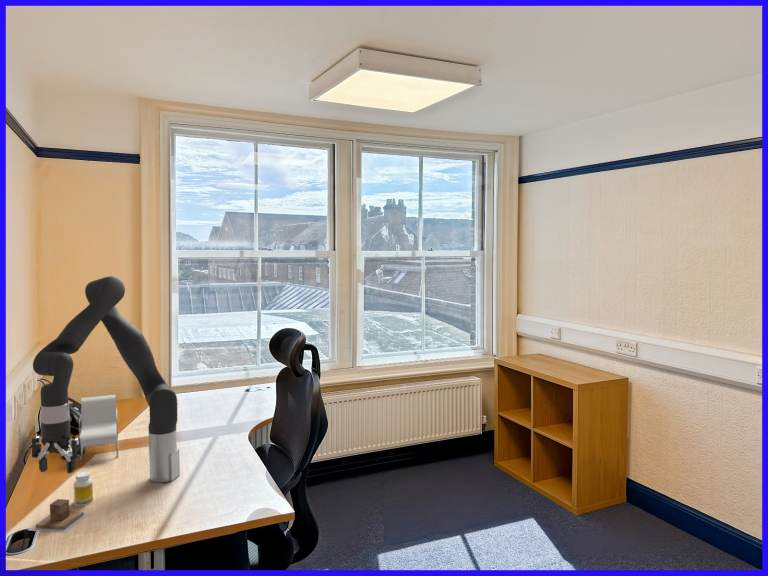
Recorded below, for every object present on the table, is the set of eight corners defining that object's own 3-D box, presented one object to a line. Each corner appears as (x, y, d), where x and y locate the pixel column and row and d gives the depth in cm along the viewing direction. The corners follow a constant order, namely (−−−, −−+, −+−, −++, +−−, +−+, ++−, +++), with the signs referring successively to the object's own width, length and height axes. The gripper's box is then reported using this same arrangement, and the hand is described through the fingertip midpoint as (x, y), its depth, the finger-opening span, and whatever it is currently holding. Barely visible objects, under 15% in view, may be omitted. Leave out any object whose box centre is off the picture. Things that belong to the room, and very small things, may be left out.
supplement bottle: (71, 503, 188) (70, 474, 187) (89, 497, 192) (88, 469, 191) (78, 508, 184) (76, 479, 184) (95, 502, 188) (94, 474, 188)
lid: (83, 515, 179) (82, 496, 179) (64, 529, 170) (63, 509, 170) (56, 513, 180) (55, 494, 180) (35, 527, 171) (34, 508, 171)
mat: (91, 514, 181) (91, 513, 181) (66, 533, 169) (65, 532, 169) (54, 512, 182) (54, 511, 182) (27, 531, 170) (27, 530, 170)
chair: (118, 438, 249) (116, 393, 247) (118, 458, 226) (116, 409, 224) (82, 442, 243) (80, 396, 242) (79, 464, 221) (77, 413, 219)
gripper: (85, 416, 176) (87, 468, 177) (41, 413, 177) (43, 465, 179) (69, 423, 168) (71, 478, 169) (23, 421, 170) (26, 475, 171)
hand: (57, 471), depth 174 cm, fingers open, 8 cm apart
